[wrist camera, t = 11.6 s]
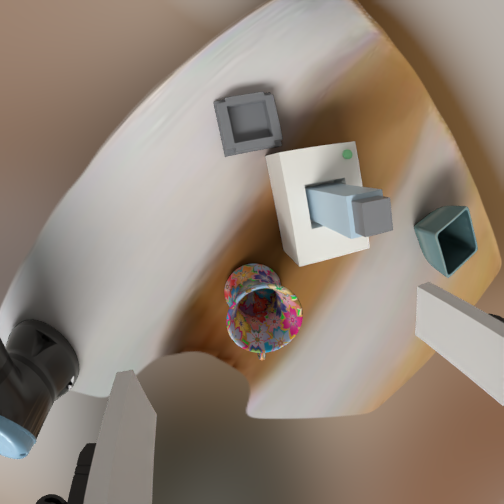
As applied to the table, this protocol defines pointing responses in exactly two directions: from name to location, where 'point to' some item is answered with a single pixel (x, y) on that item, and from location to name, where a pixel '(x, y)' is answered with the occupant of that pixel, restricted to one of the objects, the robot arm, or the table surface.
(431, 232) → the flower pot
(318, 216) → the plug
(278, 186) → the port panel
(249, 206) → the table surface
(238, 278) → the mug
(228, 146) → the holster
